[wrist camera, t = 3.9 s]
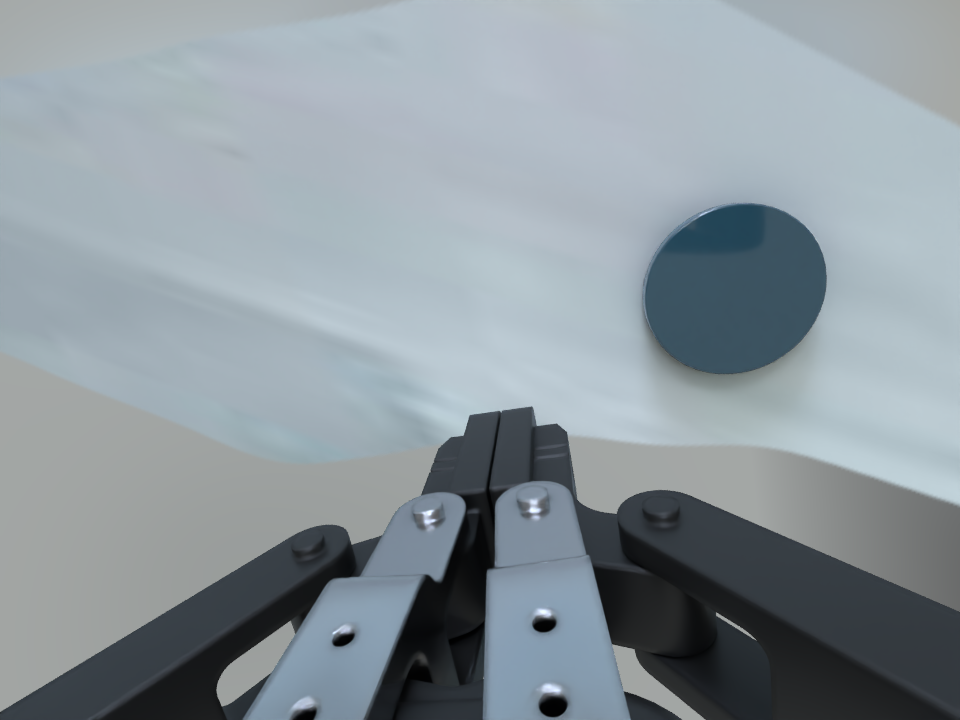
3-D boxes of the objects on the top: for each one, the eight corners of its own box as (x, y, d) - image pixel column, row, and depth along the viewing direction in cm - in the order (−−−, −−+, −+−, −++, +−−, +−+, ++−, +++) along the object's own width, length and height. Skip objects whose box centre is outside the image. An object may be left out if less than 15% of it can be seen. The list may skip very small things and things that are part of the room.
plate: (731, 164, 22) (741, 163, 21) (850, 280, 23) (866, 285, 22) (606, 294, 24) (609, 300, 23) (719, 395, 25) (727, 406, 24)
